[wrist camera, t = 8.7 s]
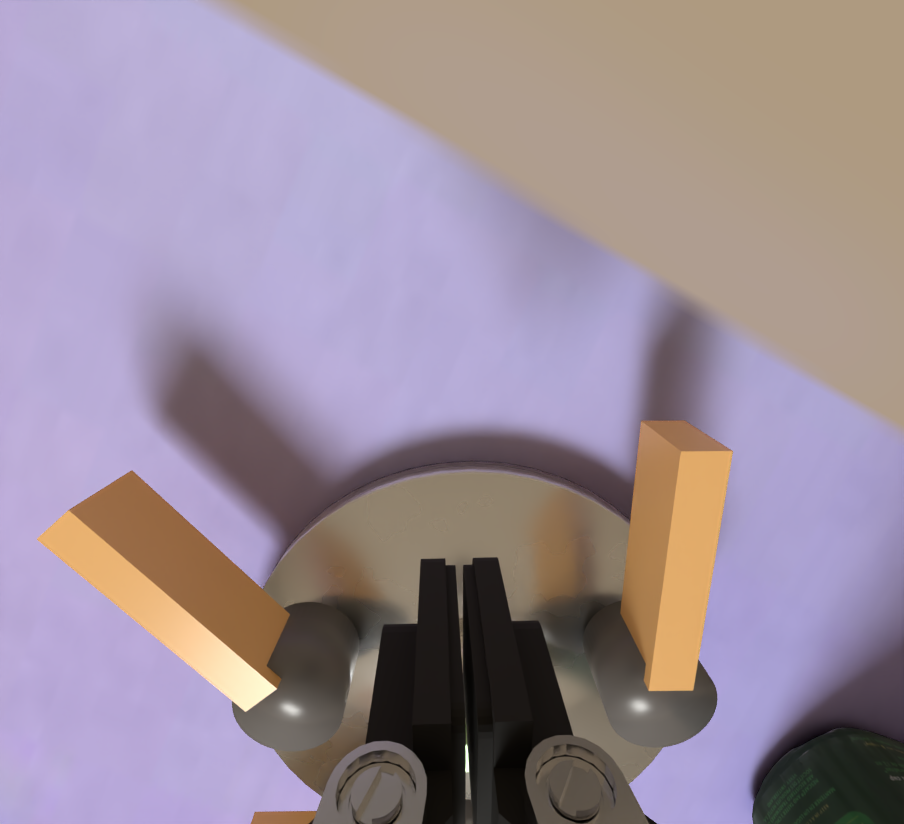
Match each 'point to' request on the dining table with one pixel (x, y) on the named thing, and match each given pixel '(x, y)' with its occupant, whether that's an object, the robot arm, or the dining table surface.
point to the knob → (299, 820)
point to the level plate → (459, 541)
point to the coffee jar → (835, 782)
